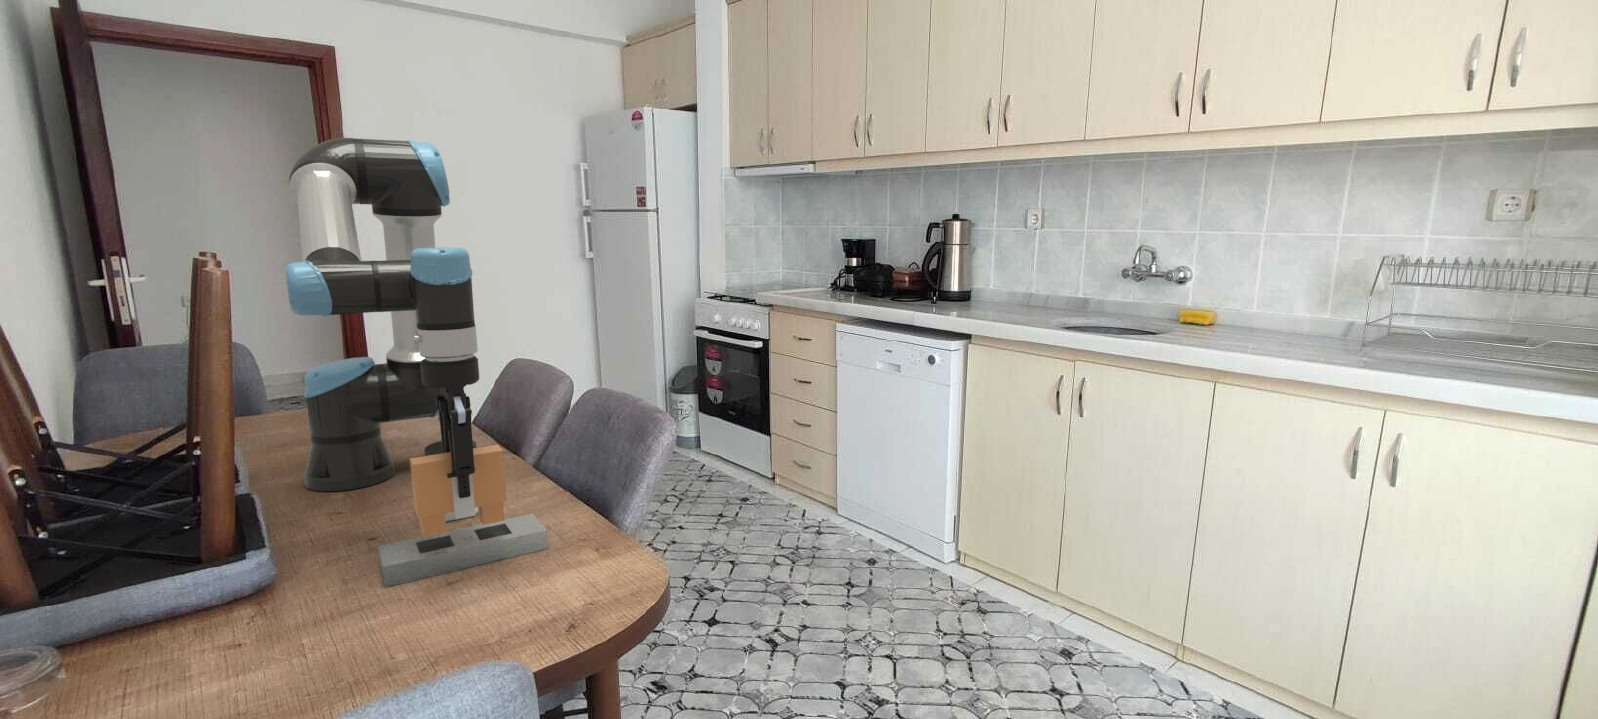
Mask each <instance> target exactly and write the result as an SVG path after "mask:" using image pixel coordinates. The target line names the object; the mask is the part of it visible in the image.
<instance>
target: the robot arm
mask: <svg viewBox="0 0 1598 719" xmlns="http://www.w3.org/2000/svg"><path fill="white" fill-rule="evenodd" d="M288 182H289V183H288V186H289V192H290V196H291V197H292V199H293V201H294V202H295V203H296V204H297V207H298V218H299V219H298V220H299V222H298V223H299V235H300V236H299V237H300V245H301V246H300V247H301V248H300V249H301V258H302V259H301V260H302V261H300V262H297V261H296V262H292V263H289V264H288V265H287V266H286V268H285V276H286V288H287V293H288V301H289V306H290V307H289V308H290V310H291V312H292V313H294V315H298V316H322V317H329V316H337V315H349V314H351V315H352V314H362V313H363V314H364V313H388V312H390V315H391V316H390V317H391V325H392V326H391V327H392V338H393V346H392V347H391V348H390V350H388V351H387V352H386V357H385V360H386V363H377V364H375V361H374V358H373V357H370V356H362V357H361V356H360V357H352V358H346V359H340V360H335V361H331V362H327V363H323V364H320V365H317V366H315V367H313V368H311V369H309V370H308V371H307V372H306V373H305V375H304V379H303V380H304V398H306V399H305V400H306V405H307V406H306V407H307V416H308V424H309V434H310V443H311V444H310V446H311V447H310V449H309V450H310V451H309V455H308V459H307V463H306V466H305V471H304V473H303V474H304V484H305V488H307V489H308V490H311V491H318V492H339V491H340V492H341V491H349V490H355V489H356V490H357V489H361V488H366V487H370V486H373V485H377V484H378V483H382V482H384V481H387V480H388V479H390V478H391V477H393V476H394V475H395V474H396V467H395V461H394V458H393V457H392V455H391V452H390V450H389V449H388V447H387V445H386V442H385V441H384V438H383V437H382V431H381V424H383V423H391V422H392V423H393V422H398V421H399V422H400V421H406V420H414V419H415V420H416V419H422V418H435V417H438V421H439V427H440V438H441V440H440V441H442V450H443V453H448V452H450V454H451V463H452V473H447V477H448V478H451V481H452V493H453V504H454V516H455V519H456V520H460V519H464V518H465V519H466V518H470V517H475V516H477V513H476V514H475V502H474V490H473V478H472V473H474V472H475V467H474V456H473V442H472V440H473V431H472V414H473V411H472V409H471V399H470V396H467V393H466V392H465V387H466V386H467V385H468V386H469V385H470V386H471V385H473V384H476V383H478V382H479V380H480V368H479V359H478V357H477V356H476V355H475V354H477V353H478V340H477V339H478V337H477V336H478V335H477V326H476V322H475V312H474V297H473V296H474V295H473V278H472V276H473V269H472V266H471V262H470V255H469V252H468V251H467V250H466V249H465V248H463V247H436V237H435V224H436V222H437V221H438V220H439V219H440V218H441V217H442V216H443V213H442V207H444V208H445V207H446V206H448V205H450V202H451V197H450V187H449V184H448V183H449V182H448V177H447V173H446V169H445V165H444V162H443V159H442V156H441V154H440V151H439V150H438V148H437V147H436V146H435V145H433V144H432V143H428V142H422V141H421V142H420V141H414V140H413V141H412V140H411V139H410V140H398V139H397V140H392V139H373V138H371V139H370V138H353V137H339V138H332V139H328V140H325V141H323V142H320V143H318V144H315V145H314V146H312V147H311V148H310V149H308V150H306V151H305V152H304V153H303V154H302V155H301V156H299V157H298V158H297V160H296V161H295V163H294V164H293V165H292V168H291V170H290V173H289V177H288ZM353 205H371V210H372V216H374V217H375V218H376V219H377V220H379V221H380V222H381V224H382V227H383V237H384V238H383V239H384V249H385V259H386V260H362V256H361V250H360V244H359V239H358V234H357V226H356V220H355V214H354V209H353Z"/></svg>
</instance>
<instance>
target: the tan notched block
mask: <svg viewBox="0 0 1598 719" xmlns="http://www.w3.org/2000/svg"><path fill="white" fill-rule="evenodd" d="M473 456H474V467H475V472H474V473H472V478H473V490H474V502H475V508H476V507H478V520H479V521H480V522H481V524H483V525H485V524H490V523H494V522H499V521H504V519H505V513H504V509H505V508H504V503H506V502H508V499H507V487H506V486H507V485H506V473H505V461H504V450H503V449H502V448H501V446H500V445H498V444H493V445H486V446H480V447H477V448H473ZM409 465H410V466H409V467H410V475H411V486H412V487H411V488H412V496H413V507H414V512H415V515H416V517H417V519H419V525H420V526H419V527H420V532H421V534H422V537H428V536H433V535H437V534H442V533H447V524H446V523H447V521H446V520H445V513H451V512H454V504H453V493H452V481H451V478H448V477H447V473H452V463H451V454H450V452H448V453H441V454H435V455H428V456H425V455H424V456H416V457H410V458H409Z"/></svg>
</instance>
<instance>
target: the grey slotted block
mask: <svg viewBox="0 0 1598 719" xmlns="http://www.w3.org/2000/svg"><path fill="white" fill-rule="evenodd" d="M446 531H447V530H446ZM548 541H549V540H548V529H547V528H546V527H545V525H543V524H542V522H541V521H540V519H538V518H537V516H536V515H535V514H534V513H530V514H524V515H520V516H514V517H511V518H510V517H509V518H504V521H499V522H494V523H490V524H485V525H483V524H482V523H480V524H477V525H472V526H467V527H462V528H457V529H453V530H448V531H447V533H442V534H437V535H433V536H428V537H423V536H421V537H420V536H419V537H415V538H410V539H406V540H401V541H395V542H392V543H386V544H385V543H384V544H380V545H378V546H377V549H378V560H379V566H380V570H381V574H382V578H383V582H384V586H385V587H386V588H388V587H392V586H396V585H400V584H404V583H408V582H412V581H414V582H415V581H417V580H421V579H426V578H429V577H433V576H437V575H442V574H447V573H451V572H455V571H459V570H464V569H467V568H472V567H475V566H481V565H485V564H489V563H494V562H498V561H501V560H505V559H509V558H514V557H518V556H522V555H527V554H530V553H535V552H539V551H543V550H549V542H548Z"/></svg>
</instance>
